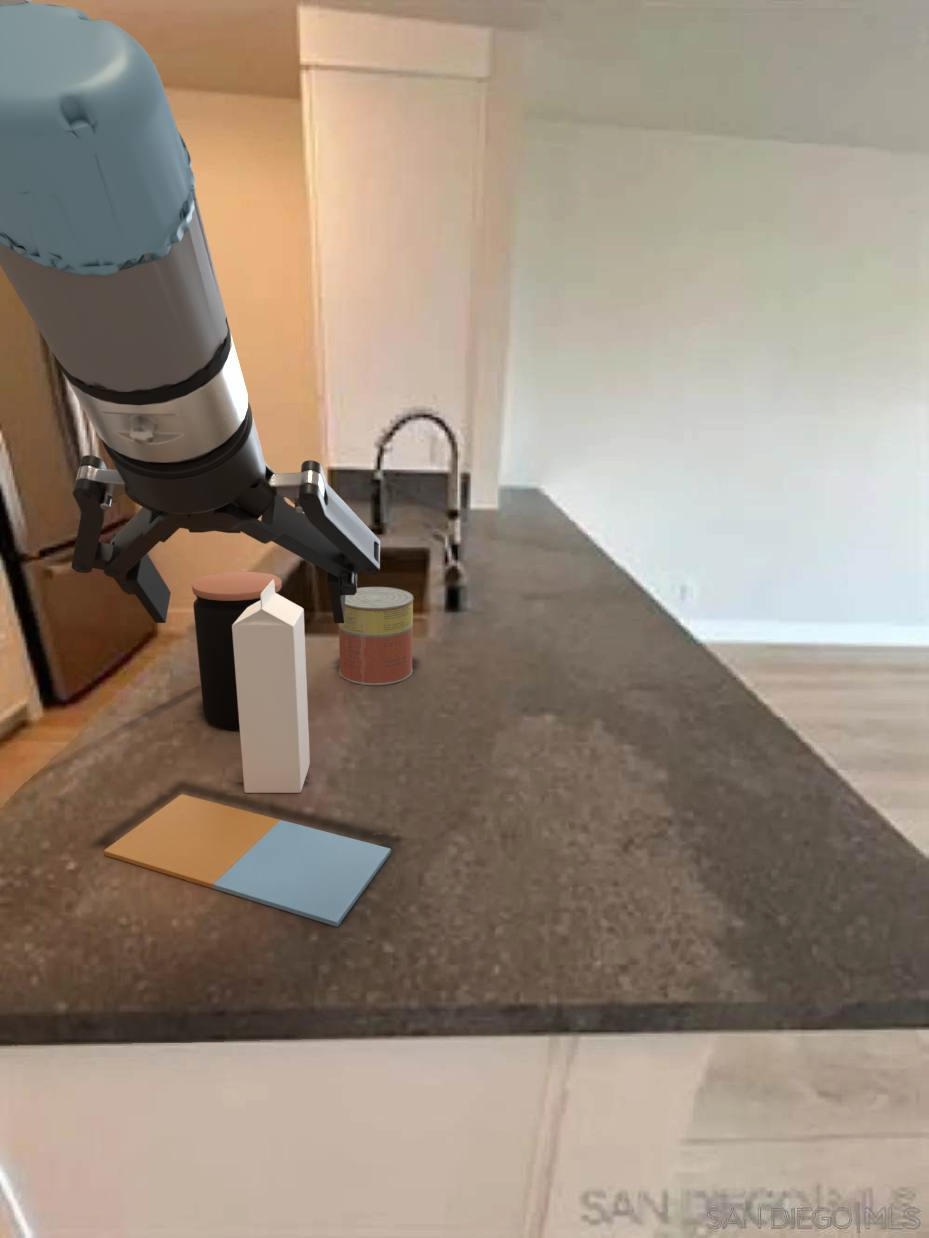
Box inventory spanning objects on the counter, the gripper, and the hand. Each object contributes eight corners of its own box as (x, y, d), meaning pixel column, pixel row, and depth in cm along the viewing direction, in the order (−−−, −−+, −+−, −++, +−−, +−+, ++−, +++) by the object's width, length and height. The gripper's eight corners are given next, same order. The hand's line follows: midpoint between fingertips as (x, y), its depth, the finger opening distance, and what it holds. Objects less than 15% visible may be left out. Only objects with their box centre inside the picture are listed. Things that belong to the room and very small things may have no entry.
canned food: (403, 655, 111) (403, 584, 107) (420, 681, 101) (422, 605, 97) (334, 660, 108) (332, 588, 104) (345, 689, 98) (343, 610, 94)
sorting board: (103, 855, 61) (103, 850, 61) (182, 797, 70) (181, 793, 70) (337, 927, 54) (337, 922, 54) (391, 852, 63) (391, 848, 63)
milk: (310, 765, 77) (304, 579, 71) (300, 794, 72) (293, 595, 65) (256, 764, 77) (245, 577, 70) (242, 794, 71) (229, 593, 64)
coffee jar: (300, 719, 88) (294, 586, 82) (216, 739, 82) (204, 598, 76) (272, 690, 96) (265, 568, 91) (194, 707, 90) (181, 577, 85)
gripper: (-116, 465, 31) (76, 651, 50) (420, 478, 34) (411, 650, 53) (-66, 350, 35) (96, 565, 54) (418, 369, 37) (410, 568, 56)
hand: (252, 608), depth 53 cm, fingers open, 13 cm apart
